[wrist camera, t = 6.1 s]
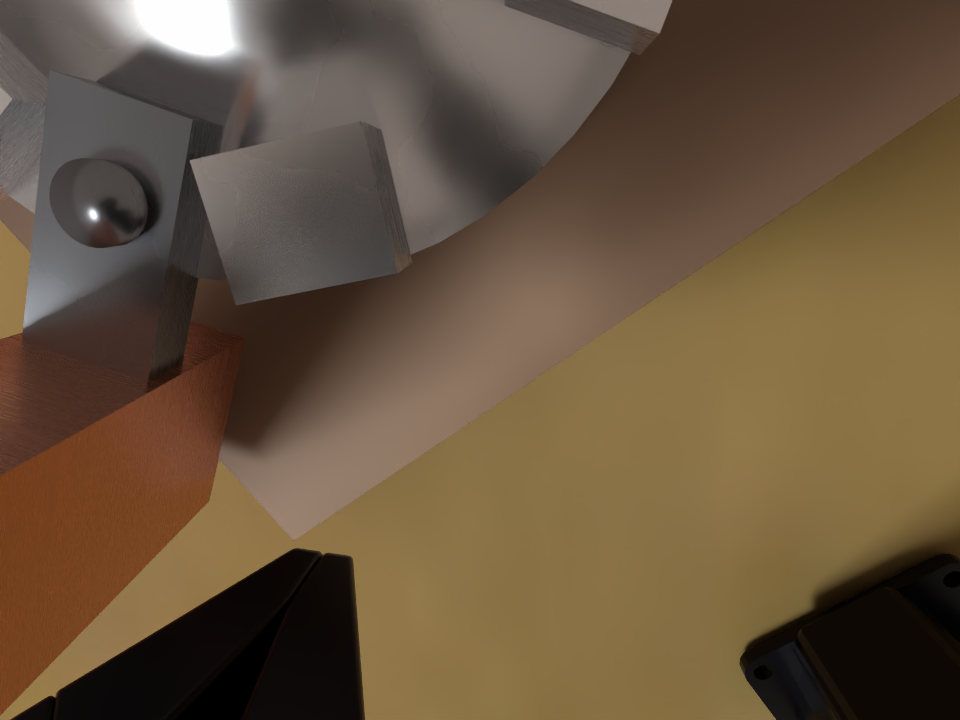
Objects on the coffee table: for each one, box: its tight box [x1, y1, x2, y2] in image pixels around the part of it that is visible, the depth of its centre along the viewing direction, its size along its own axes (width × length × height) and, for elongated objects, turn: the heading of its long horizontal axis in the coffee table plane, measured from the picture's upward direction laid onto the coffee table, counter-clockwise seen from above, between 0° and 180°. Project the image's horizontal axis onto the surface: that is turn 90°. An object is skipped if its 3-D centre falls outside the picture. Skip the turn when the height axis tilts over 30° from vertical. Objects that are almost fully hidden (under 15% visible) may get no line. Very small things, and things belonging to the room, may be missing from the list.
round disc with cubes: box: [0, 0, 672, 715], centre depth 8 cm, size 18×13×7 cm
